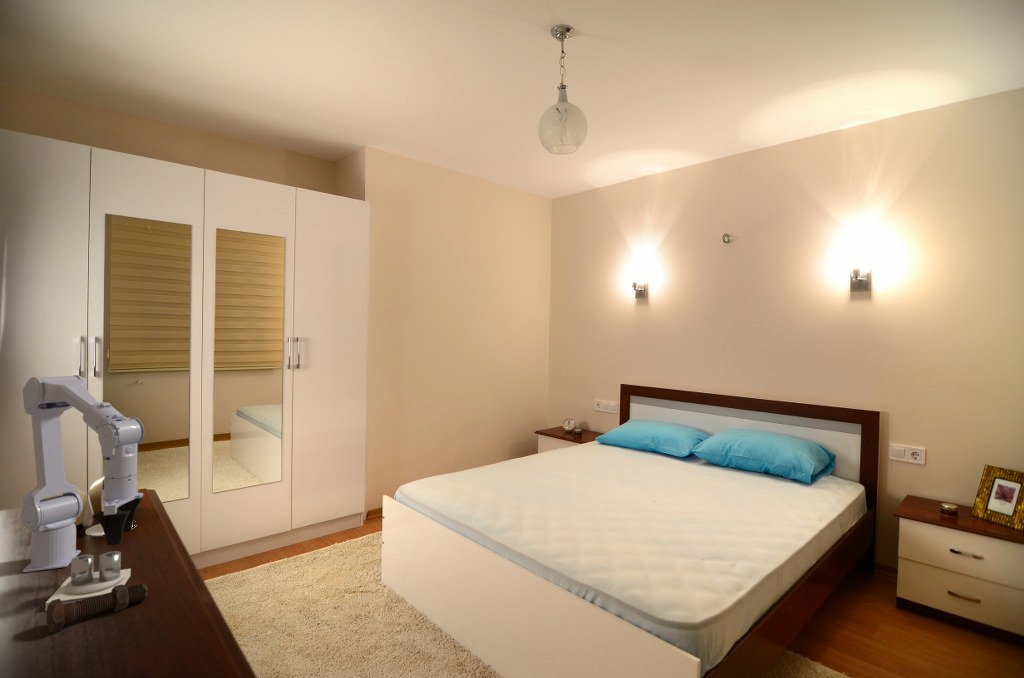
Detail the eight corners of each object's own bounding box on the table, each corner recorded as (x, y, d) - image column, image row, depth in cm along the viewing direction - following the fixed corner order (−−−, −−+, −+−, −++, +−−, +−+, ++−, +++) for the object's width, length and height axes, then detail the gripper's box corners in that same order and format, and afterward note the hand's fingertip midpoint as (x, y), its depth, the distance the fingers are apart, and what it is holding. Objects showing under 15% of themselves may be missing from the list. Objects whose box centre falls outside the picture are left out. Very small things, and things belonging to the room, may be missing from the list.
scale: (69, 584, 112) (69, 573, 112) (131, 575, 117) (131, 564, 117) (44, 612, 101) (44, 599, 101) (114, 601, 105) (114, 589, 105)
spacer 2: (102, 575, 111) (102, 552, 111) (122, 573, 113) (123, 549, 113) (96, 583, 108) (97, 558, 108) (117, 580, 109) (118, 556, 110)
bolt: (146, 610, 106) (49, 640, 94) (139, 591, 109) (44, 618, 97) (152, 589, 104) (54, 617, 93) (145, 570, 107) (50, 595, 95)
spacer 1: (74, 579, 110) (75, 555, 110) (95, 576, 111) (96, 553, 111) (68, 587, 106) (68, 562, 106) (89, 584, 108) (90, 559, 108)
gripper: (133, 482, 108) (132, 547, 108) (151, 466, 122) (149, 524, 122) (91, 485, 106) (90, 552, 106) (114, 468, 119) (113, 527, 119)
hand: (119, 537), depth 114 cm, fingers open, 7 cm apart
